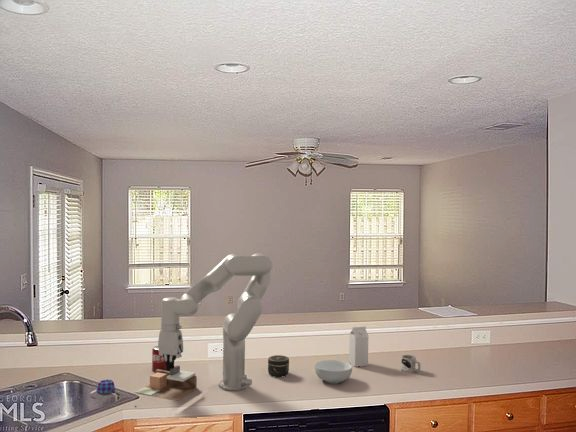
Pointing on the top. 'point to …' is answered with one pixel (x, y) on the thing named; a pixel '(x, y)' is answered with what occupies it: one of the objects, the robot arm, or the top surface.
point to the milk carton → (358, 347)
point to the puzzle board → (171, 388)
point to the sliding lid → (179, 374)
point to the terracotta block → (158, 380)
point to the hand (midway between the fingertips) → (170, 370)
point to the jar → (278, 365)
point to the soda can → (157, 360)
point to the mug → (409, 363)
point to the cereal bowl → (333, 370)
